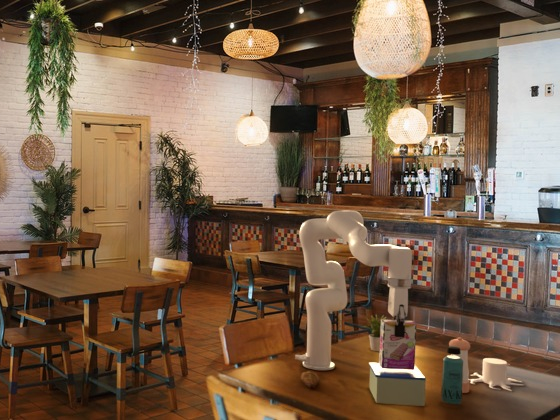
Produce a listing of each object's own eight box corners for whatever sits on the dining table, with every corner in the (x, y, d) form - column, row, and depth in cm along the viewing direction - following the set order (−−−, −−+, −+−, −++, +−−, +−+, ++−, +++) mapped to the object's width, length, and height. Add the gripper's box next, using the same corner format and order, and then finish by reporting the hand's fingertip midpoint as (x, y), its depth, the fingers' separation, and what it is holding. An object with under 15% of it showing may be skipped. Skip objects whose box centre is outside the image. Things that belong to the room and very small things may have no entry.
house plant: (390, 356, 279) (391, 319, 278) (357, 351, 286) (359, 315, 285) (397, 349, 291) (398, 313, 290) (365, 344, 298) (366, 309, 297)
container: (376, 403, 220) (377, 377, 219) (369, 388, 235) (370, 364, 235) (424, 406, 217) (425, 380, 217) (414, 391, 233) (415, 367, 232)
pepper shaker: (473, 392, 232) (475, 340, 231) (453, 393, 231) (455, 340, 230) (462, 386, 239) (464, 335, 238) (443, 386, 238) (445, 335, 237)
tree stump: (534, 385, 241) (535, 363, 241) (503, 393, 232) (504, 371, 231) (483, 371, 259) (484, 351, 258) (453, 378, 249) (454, 357, 248)
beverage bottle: (437, 402, 221) (439, 344, 220) (455, 401, 222) (457, 344, 221) (447, 408, 215) (449, 349, 214) (466, 408, 215) (468, 349, 215)
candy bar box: (382, 369, 224) (383, 322, 223) (378, 365, 229) (380, 319, 228) (415, 370, 223) (417, 323, 222) (411, 366, 228) (412, 320, 227)
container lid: (375, 377, 219) (375, 375, 219) (368, 364, 235) (368, 362, 235) (425, 380, 217) (425, 377, 217) (415, 367, 232) (415, 364, 232)
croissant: (298, 377, 247) (298, 364, 247) (316, 378, 246) (316, 365, 246) (302, 389, 233) (302, 375, 233) (321, 390, 233) (321, 376, 233)
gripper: (383, 278, 233) (382, 328, 234) (392, 286, 217) (391, 340, 217) (405, 279, 232) (404, 329, 233) (416, 287, 215) (414, 341, 216)
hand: (397, 334), depth 225 cm, fingers closed on candy bar box, 5 cm apart
